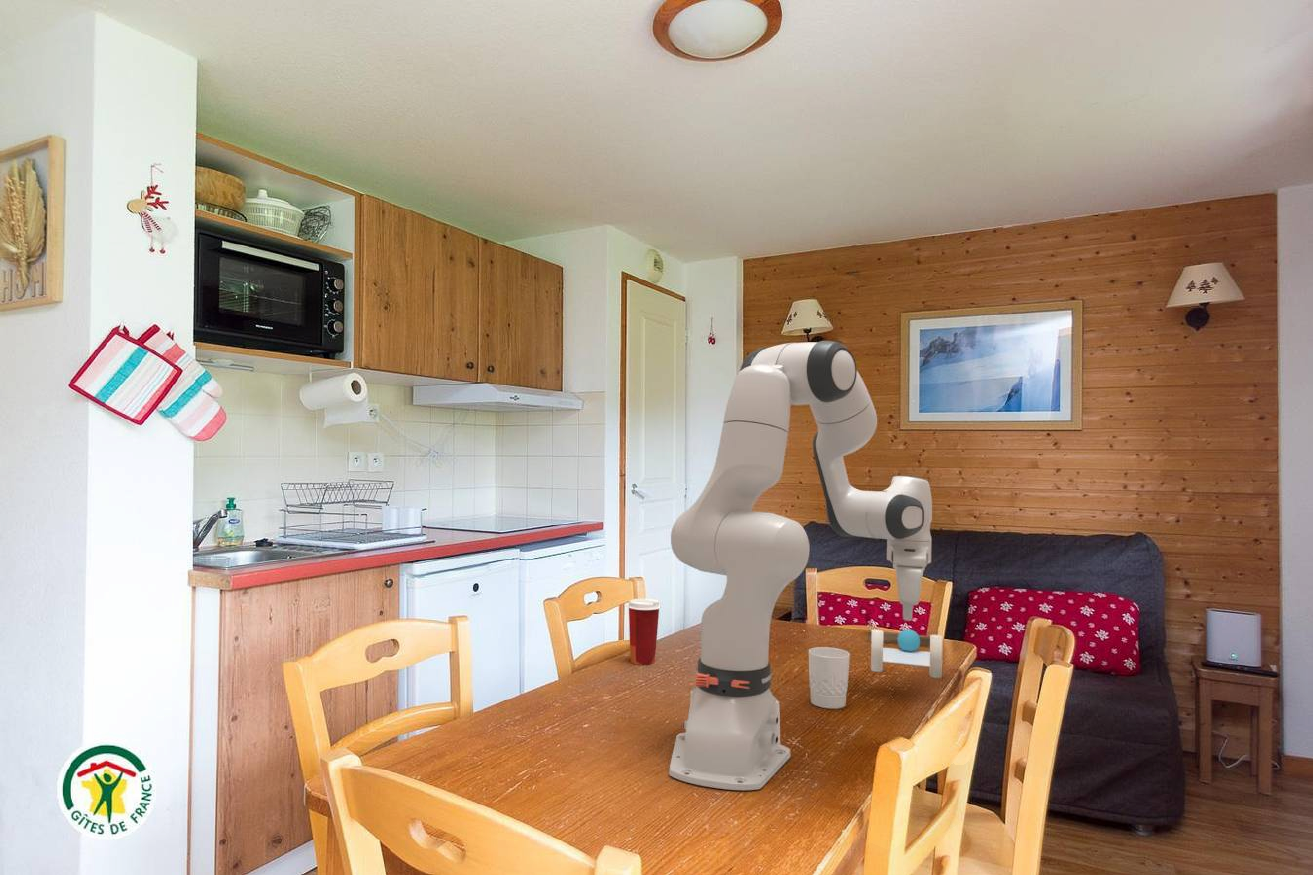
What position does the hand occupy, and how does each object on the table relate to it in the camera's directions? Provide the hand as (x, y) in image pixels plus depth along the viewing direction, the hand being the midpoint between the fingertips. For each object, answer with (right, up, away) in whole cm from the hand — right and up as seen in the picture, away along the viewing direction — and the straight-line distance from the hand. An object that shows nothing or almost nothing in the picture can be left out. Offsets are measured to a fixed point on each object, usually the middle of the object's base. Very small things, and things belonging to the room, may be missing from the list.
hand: (907, 619), depth 158 cm
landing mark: (+8, -16, +26) cm, 32 cm away
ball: (+11, -13, +32) cm, 36 cm away
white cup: (-19, -14, -10) cm, 26 cm away
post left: (-2, -15, +14) cm, 21 cm away
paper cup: (-56, -14, +16) cm, 60 cm away
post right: (+10, -15, +10) cm, 21 cm away
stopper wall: (+12, -16, +40) cm, 45 cm away
